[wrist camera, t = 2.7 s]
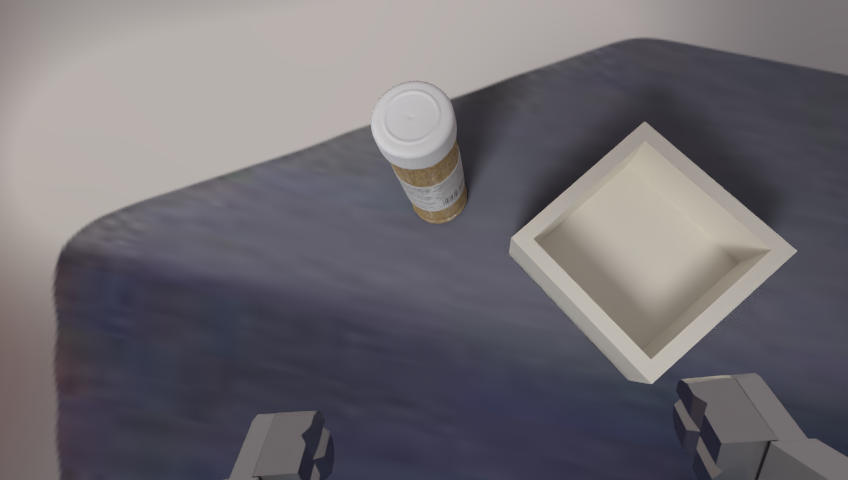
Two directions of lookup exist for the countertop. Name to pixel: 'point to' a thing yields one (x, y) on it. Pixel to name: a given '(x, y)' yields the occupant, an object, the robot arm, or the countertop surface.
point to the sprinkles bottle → (422, 148)
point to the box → (647, 254)
